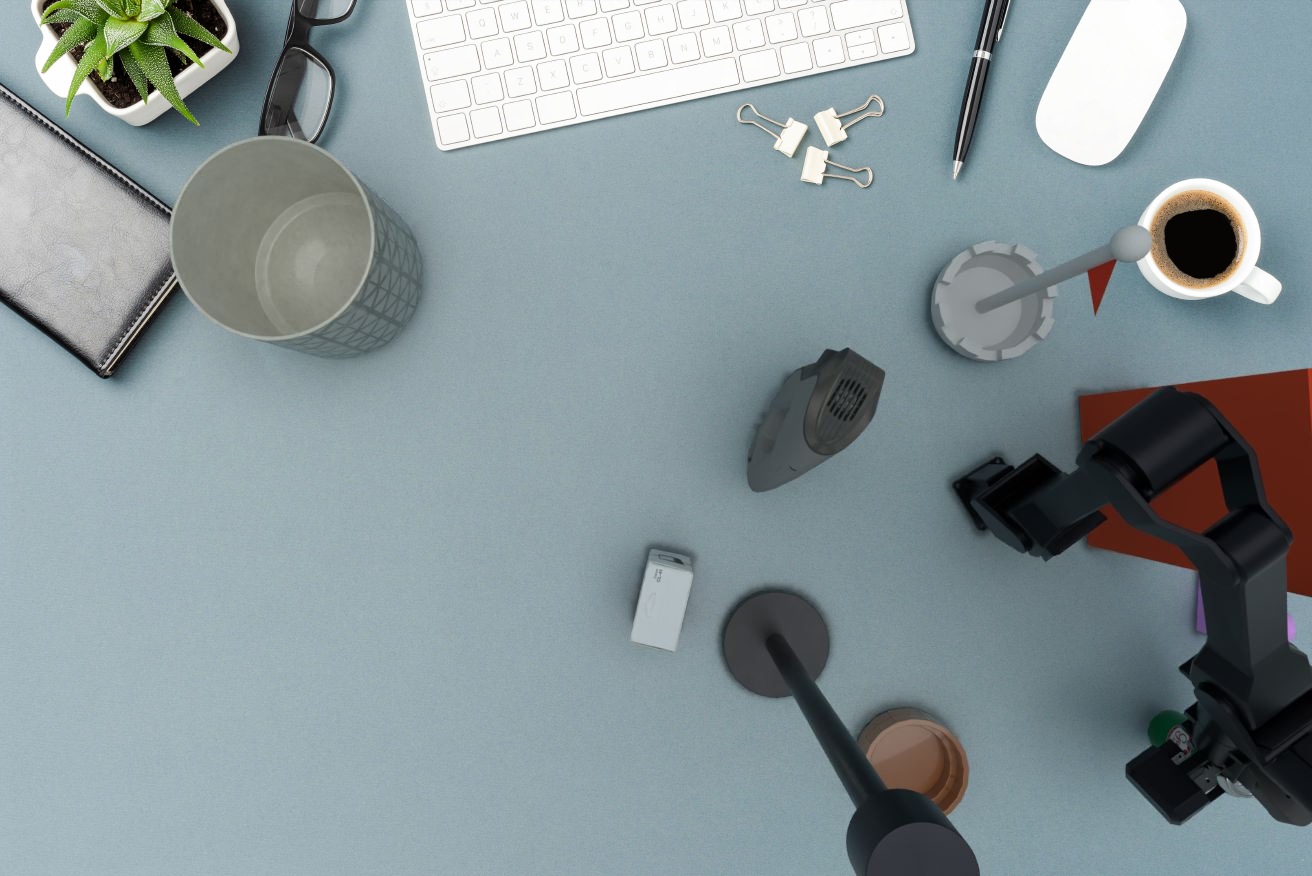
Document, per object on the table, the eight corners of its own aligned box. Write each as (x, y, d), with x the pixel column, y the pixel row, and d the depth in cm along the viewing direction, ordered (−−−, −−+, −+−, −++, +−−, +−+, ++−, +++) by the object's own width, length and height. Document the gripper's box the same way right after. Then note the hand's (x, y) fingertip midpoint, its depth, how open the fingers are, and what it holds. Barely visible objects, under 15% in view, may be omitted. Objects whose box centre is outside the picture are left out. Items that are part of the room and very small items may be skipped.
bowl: (834, 739, 89) (843, 754, 85) (921, 687, 89) (934, 699, 85) (886, 826, 89) (897, 845, 84) (972, 774, 89) (988, 791, 85)
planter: (258, 207, 89) (157, 146, 71) (421, 189, 89) (362, 124, 71) (275, 370, 89) (178, 350, 71) (439, 352, 89) (384, 328, 71)
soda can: (1142, 710, 87) (1220, 753, 75) (1186, 706, 87) (1272, 748, 75) (1145, 754, 87) (1225, 804, 75) (1190, 750, 87) (1276, 800, 75)
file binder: (1083, 545, 89) (1324, 600, 57) (1075, 396, 89) (1309, 368, 57) (1153, 541, 89) (1432, 594, 57) (1144, 392, 89) (1417, 362, 57)
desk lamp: (703, 623, 89) (763, 839, 40) (792, 570, 89) (962, 720, 40) (756, 713, 89) (883, 1041, 40) (845, 659, 89) (1082, 921, 40)
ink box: (674, 629, 89) (677, 657, 77) (631, 619, 89) (628, 646, 77) (691, 555, 89) (697, 572, 77) (648, 545, 89) (648, 560, 77)
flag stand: (929, 245, 89) (1068, 143, 59) (1041, 260, 89) (1236, 167, 59) (914, 356, 89) (1046, 310, 59) (1026, 371, 89) (1214, 334, 59)
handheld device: (839, 392, 89) (911, 370, 64) (768, 503, 89) (813, 524, 64) (795, 364, 89) (849, 331, 64) (724, 474, 89) (752, 485, 64)
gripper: (1236, 863, 64) (1215, 893, 75) (1417, 731, 64) (1369, 780, 75) (1122, 748, 72) (1119, 790, 83) (1284, 631, 72) (1259, 689, 83)
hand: (1215, 764), depth 81 cm, fingers closed on soda can, 5 cm apart
